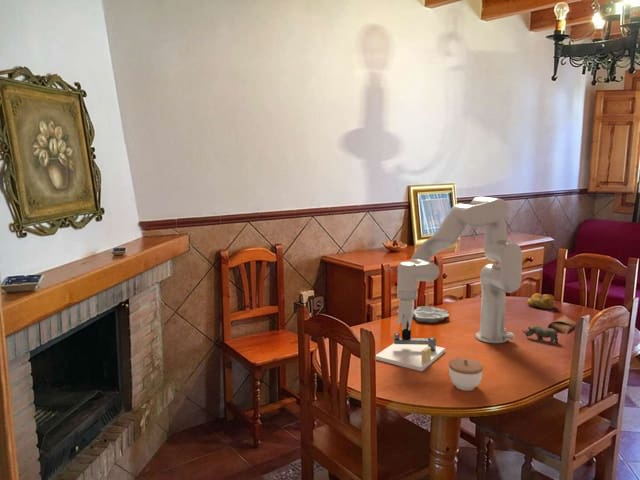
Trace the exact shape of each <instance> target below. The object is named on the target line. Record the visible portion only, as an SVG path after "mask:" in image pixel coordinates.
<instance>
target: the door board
mask: <svg viewBox="0 0 640 480" xmlns="http://www.w3.org/2000/svg"><path fill="white" fill-rule="evenodd" d="M444 353H446V348H445V347H441V346H437V345H436V350H435V351H431V347H428V345H415V344H394V342H393V343H392V344H391V345H389V346H387V347H385V348H384V349H383V350H381V351H380V352H379V353H376V361H380V362H384V363H387V364H391V365H396V366H399V367H403V368H406V369H407V368H408V369H410V370H413V371H414V370H415V371H419V372H423V371H424V370H426V369H427V368H428V367H429V366H430V365H432V364H433V363H434V362H436V360H438V358H440V357H441V356H442V355H444Z"/></svg>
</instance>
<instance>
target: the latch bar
mask: <svg viewBox="0 0 640 480" xmlns="http://www.w3.org/2000/svg"><path fill="white" fill-rule="evenodd" d="M393 343H394V344H415V345H428V347H431V351H435V350H436V346H437V338H436V337H431V336H430V337H428V338H421V337H417V338H416V337H415V338H414V337H411V338H402V337H400V333H397V332H395V333H394V334H393Z"/></svg>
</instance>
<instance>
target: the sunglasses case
mask: <svg viewBox="0 0 640 480" xmlns="http://www.w3.org/2000/svg"><path fill="white" fill-rule="evenodd" d="M576 323H577V322H576V321H574V320H572V319H571V318H569V317H567V316H566V315H565V314H563V315H562V316H560V317H558V318H557V319H555V320H554V321H552V322H550V324H548V326H547V328H551V329H554V330H556V332H557V334H563V335H568V334H569V333H571V332H572V331H573V330H574V329H575V328H576V327H575V326H576Z"/></svg>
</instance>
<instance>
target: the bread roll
mask: <svg viewBox="0 0 640 480" xmlns="http://www.w3.org/2000/svg"><path fill="white" fill-rule="evenodd" d="M526 302H527V305H528V306H530V307H532V308H538V309H541V310H551V309H553V308H554V306H555V297H554V295H552V294H548V293H547V294H541V293H538V292H535V293H534V294H532V295H531V297H530V298H528V300H527V301H526Z"/></svg>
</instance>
